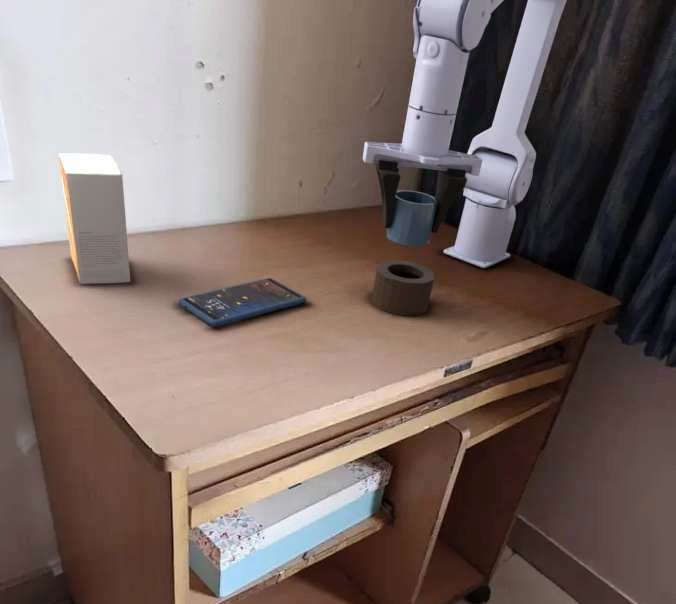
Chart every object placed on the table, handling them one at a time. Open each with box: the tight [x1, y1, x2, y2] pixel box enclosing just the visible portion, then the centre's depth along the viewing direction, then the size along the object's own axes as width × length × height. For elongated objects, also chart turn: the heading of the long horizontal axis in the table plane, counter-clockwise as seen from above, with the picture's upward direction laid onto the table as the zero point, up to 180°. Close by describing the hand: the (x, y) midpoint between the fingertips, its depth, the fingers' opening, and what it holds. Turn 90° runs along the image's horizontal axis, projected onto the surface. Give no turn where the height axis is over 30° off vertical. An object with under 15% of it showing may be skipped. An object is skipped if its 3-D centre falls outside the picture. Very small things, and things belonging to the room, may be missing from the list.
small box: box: [58, 153, 131, 285], centre depth 82 cm, size 8×6×13 cm
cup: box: [385, 189, 438, 248], centre depth 86 cm, size 6×6×5 cm
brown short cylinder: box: [371, 259, 435, 317], centre depth 90 cm, size 8×8×4 cm
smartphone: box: [178, 277, 307, 328], centre depth 84 cm, size 8×1×15 cm
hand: (409, 227), depth 86 cm, fingers closed on cup, 6 cm apart
